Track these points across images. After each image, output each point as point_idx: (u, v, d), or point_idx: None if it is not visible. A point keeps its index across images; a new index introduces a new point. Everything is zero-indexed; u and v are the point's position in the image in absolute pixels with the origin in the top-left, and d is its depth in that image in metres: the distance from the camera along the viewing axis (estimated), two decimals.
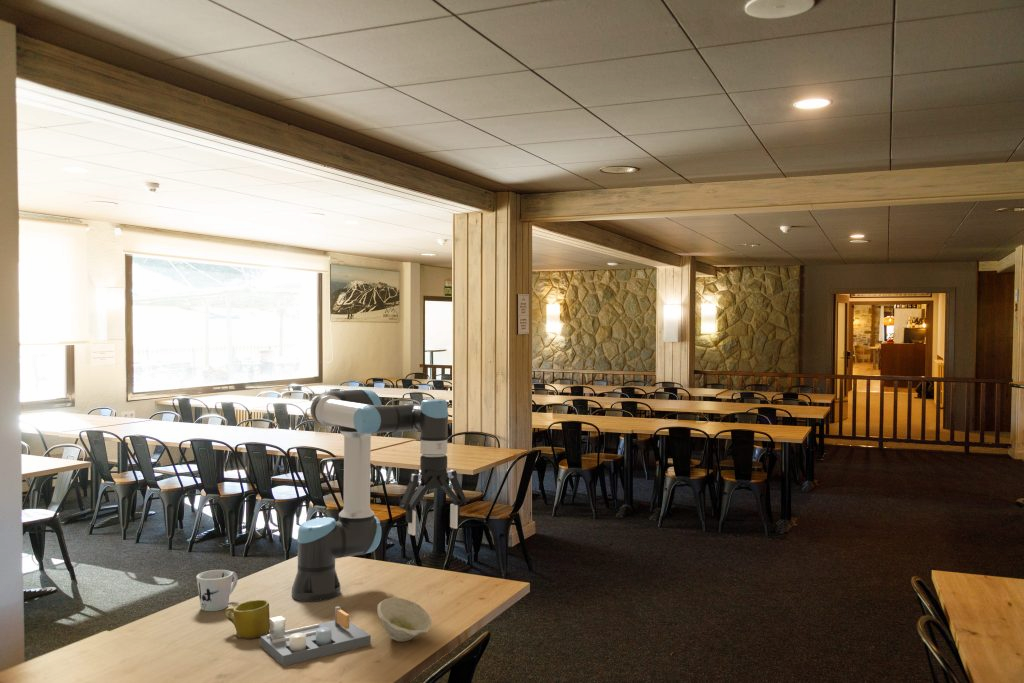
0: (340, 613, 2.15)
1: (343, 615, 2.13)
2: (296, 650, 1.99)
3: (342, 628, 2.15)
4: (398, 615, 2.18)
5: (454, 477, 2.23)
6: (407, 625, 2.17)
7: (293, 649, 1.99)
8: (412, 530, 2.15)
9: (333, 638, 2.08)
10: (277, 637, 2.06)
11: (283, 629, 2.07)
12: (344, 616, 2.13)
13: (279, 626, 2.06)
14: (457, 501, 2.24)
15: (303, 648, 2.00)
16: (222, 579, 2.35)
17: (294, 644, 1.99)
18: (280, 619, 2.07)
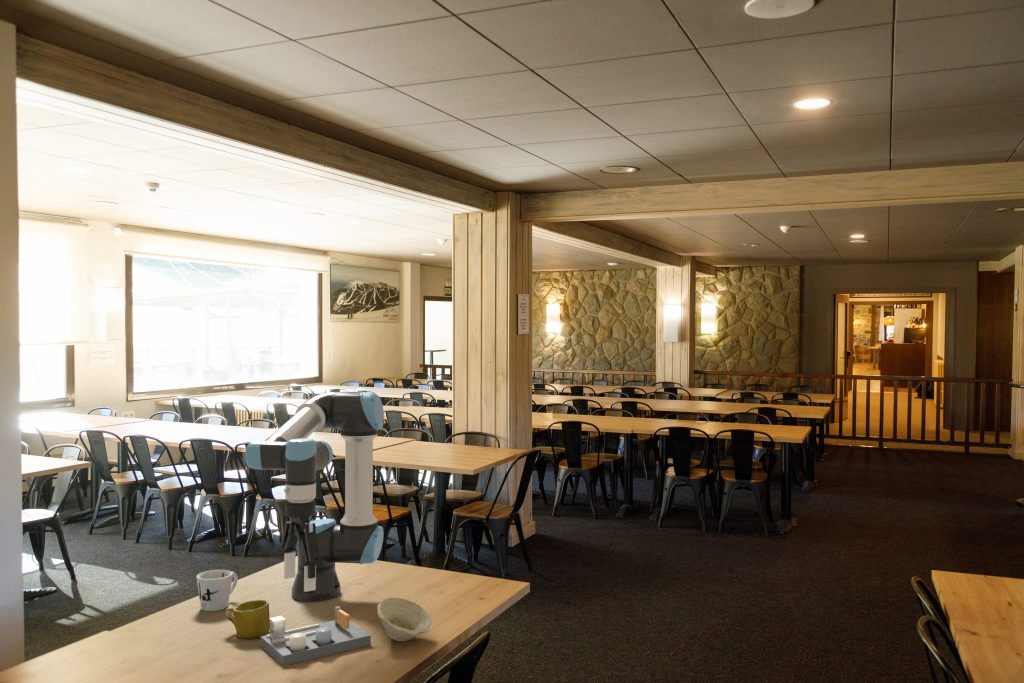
0: (340, 613, 2.15)
1: (343, 615, 2.13)
2: (296, 650, 1.99)
3: (342, 628, 2.15)
4: (398, 615, 2.18)
5: (305, 531, 1.96)
6: (407, 625, 2.17)
7: (293, 649, 1.99)
8: None
9: (333, 638, 2.08)
10: (277, 637, 2.06)
11: (283, 629, 2.07)
12: (344, 616, 2.13)
13: (279, 626, 2.06)
14: (306, 560, 1.95)
15: (303, 648, 2.00)
16: (222, 579, 2.35)
17: (294, 644, 1.99)
18: (280, 619, 2.07)
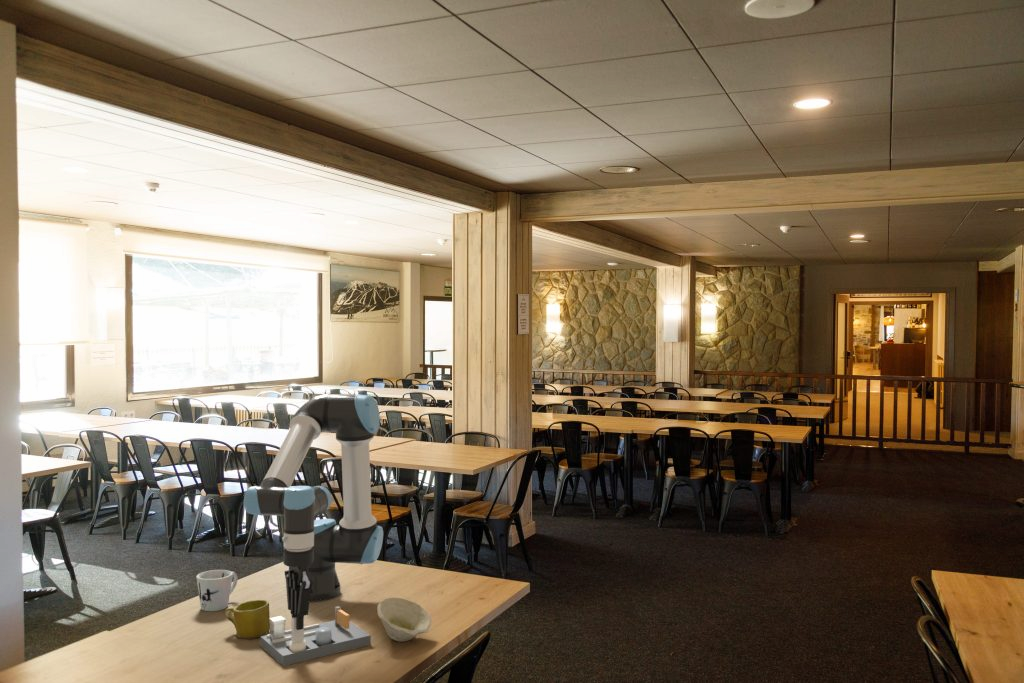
0: (340, 613, 2.15)
1: (343, 615, 2.13)
2: None
3: (342, 628, 2.15)
4: (398, 615, 2.18)
5: (300, 586, 1.97)
6: (407, 625, 2.17)
7: None
8: None
9: (333, 638, 2.08)
10: (277, 637, 2.06)
11: (283, 629, 2.07)
12: (344, 616, 2.13)
13: (279, 626, 2.06)
14: (295, 612, 2.00)
15: None
16: (222, 579, 2.35)
17: (294, 650, 1.99)
18: (280, 619, 2.07)
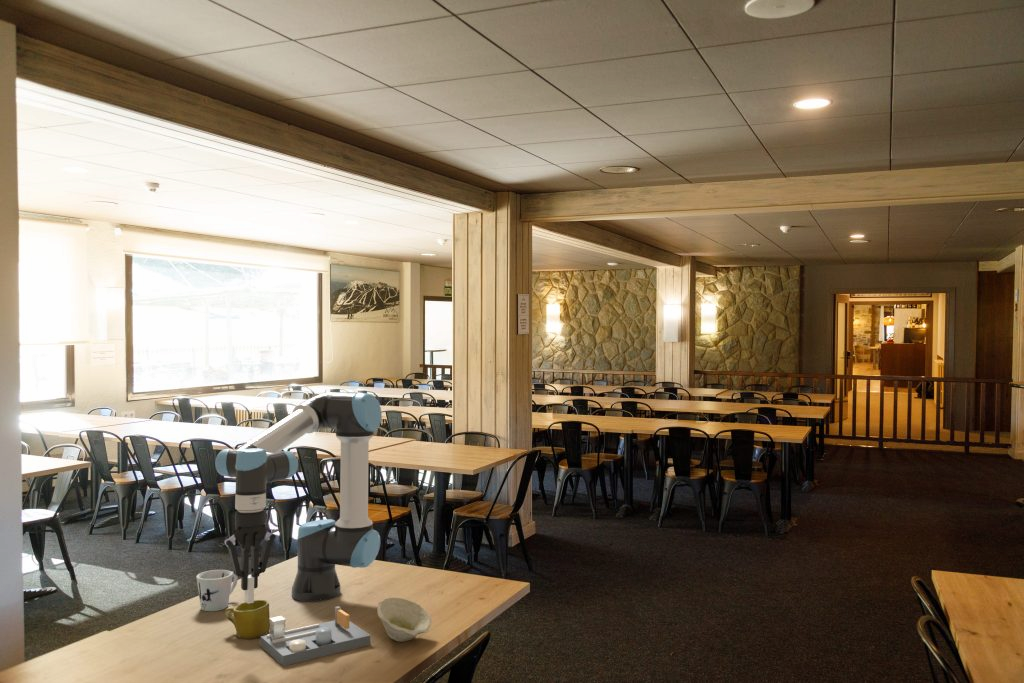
0: (340, 613, 2.15)
1: (343, 615, 2.13)
2: None
3: (342, 628, 2.15)
4: (398, 615, 2.18)
5: (270, 541, 2.05)
6: (407, 625, 2.17)
7: None
8: (247, 598, 2.02)
9: (333, 638, 2.08)
10: (277, 637, 2.06)
11: (283, 629, 2.07)
12: (344, 616, 2.13)
13: (279, 626, 2.06)
14: (255, 571, 2.02)
15: None
16: (222, 579, 2.35)
17: (294, 650, 1.99)
18: (280, 619, 2.07)
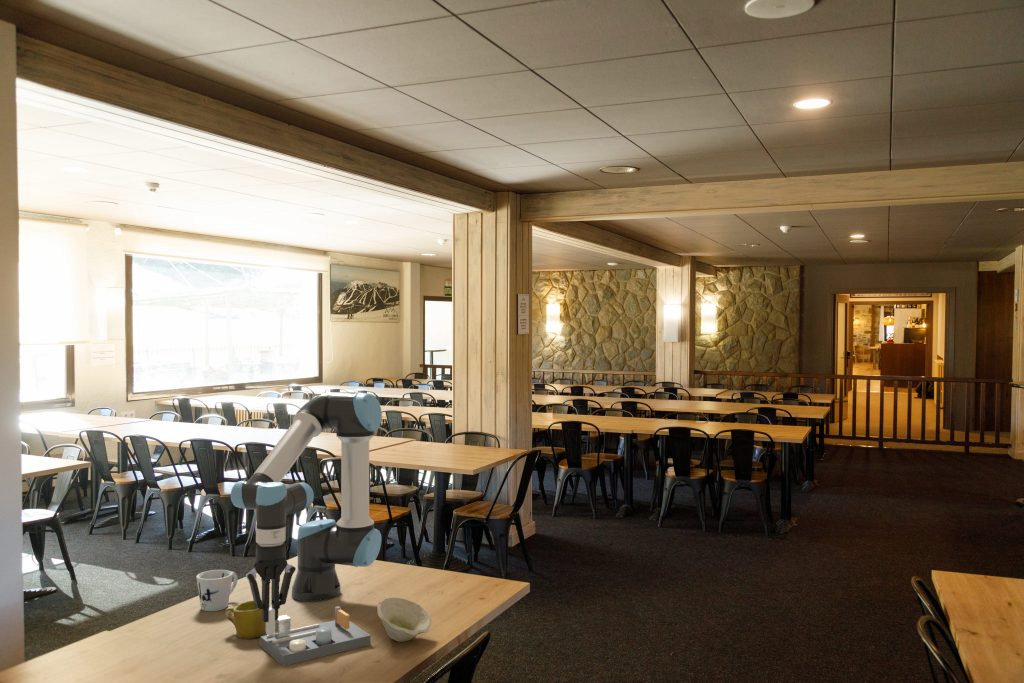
0: (340, 613, 2.15)
1: (343, 615, 2.13)
2: None
3: (342, 628, 2.15)
4: (398, 615, 2.18)
5: (290, 573, 2.08)
6: (407, 625, 2.17)
7: None
8: (268, 630, 2.05)
9: (333, 638, 2.08)
10: (282, 636, 2.07)
11: (288, 628, 2.08)
12: (344, 616, 2.13)
13: (284, 625, 2.07)
14: (276, 603, 2.06)
15: None
16: (222, 579, 2.35)
17: (294, 650, 1.99)
18: (285, 618, 2.08)
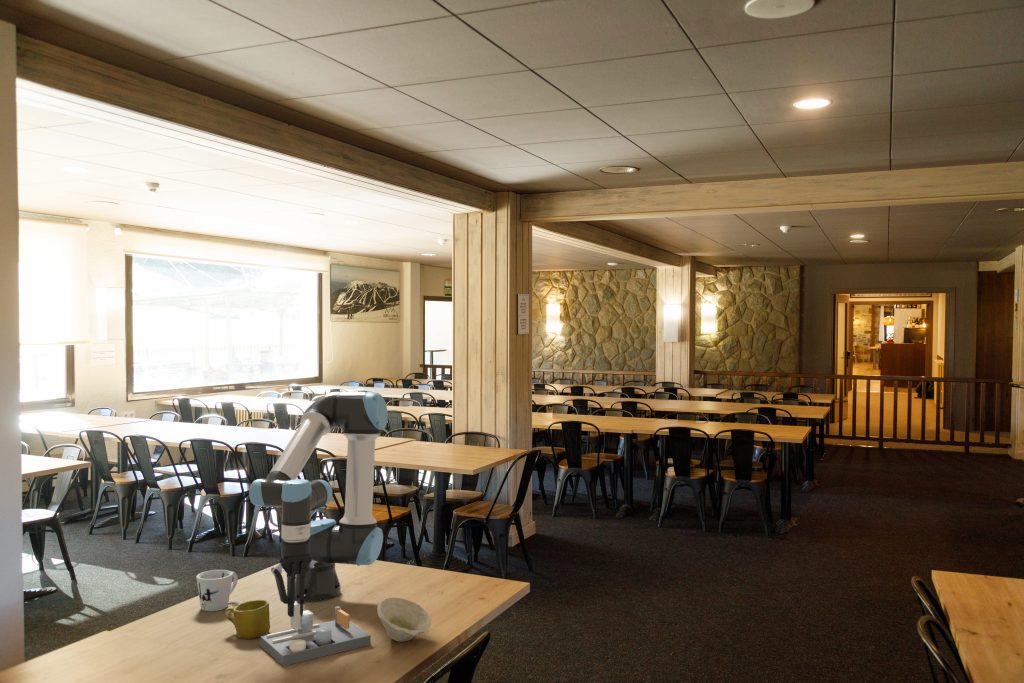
0: (340, 613, 2.15)
1: (343, 615, 2.13)
2: None
3: (342, 628, 2.15)
4: (398, 615, 2.18)
5: (314, 568, 2.12)
6: (407, 625, 2.17)
7: None
8: (294, 624, 2.09)
9: (333, 638, 2.08)
10: (305, 631, 2.10)
11: (311, 623, 2.11)
12: (344, 616, 2.13)
13: (307, 620, 2.11)
14: (301, 598, 2.10)
15: None
16: (222, 579, 2.35)
17: (294, 650, 1.99)
18: (308, 613, 2.11)
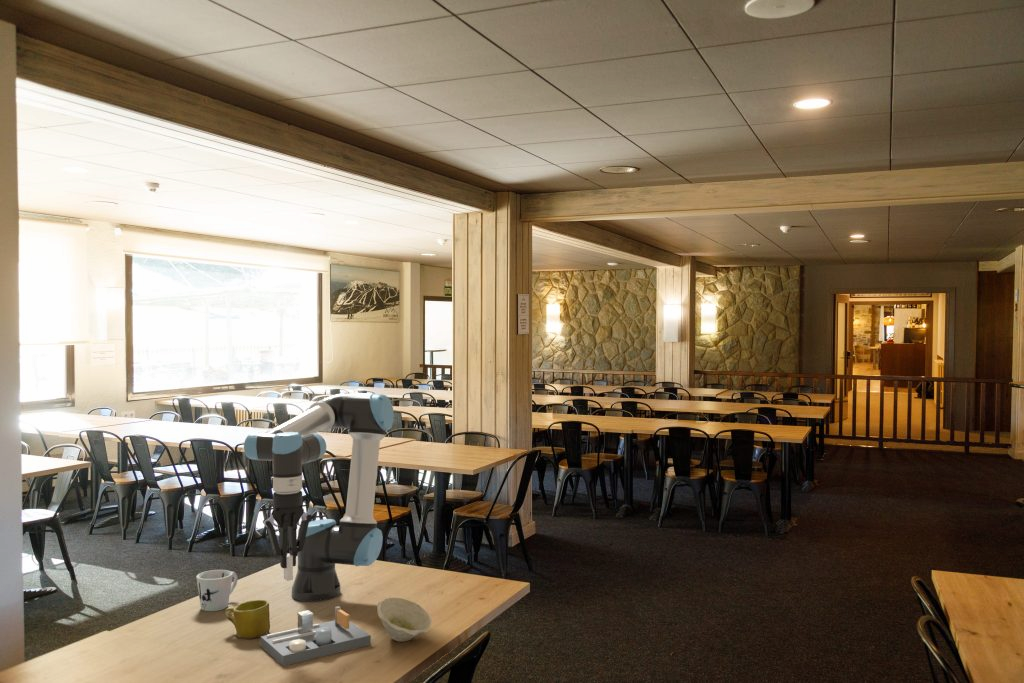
0: (340, 613, 2.15)
1: (343, 615, 2.13)
2: None
3: (342, 628, 2.15)
4: (398, 615, 2.18)
5: (306, 520, 2.12)
6: (407, 625, 2.17)
7: None
8: (287, 575, 2.10)
9: (333, 638, 2.08)
10: (305, 631, 2.10)
11: (311, 623, 2.11)
12: (344, 616, 2.13)
13: (307, 620, 2.11)
14: (294, 550, 2.10)
15: None
16: (222, 579, 2.35)
17: (294, 650, 1.99)
18: (308, 613, 2.11)
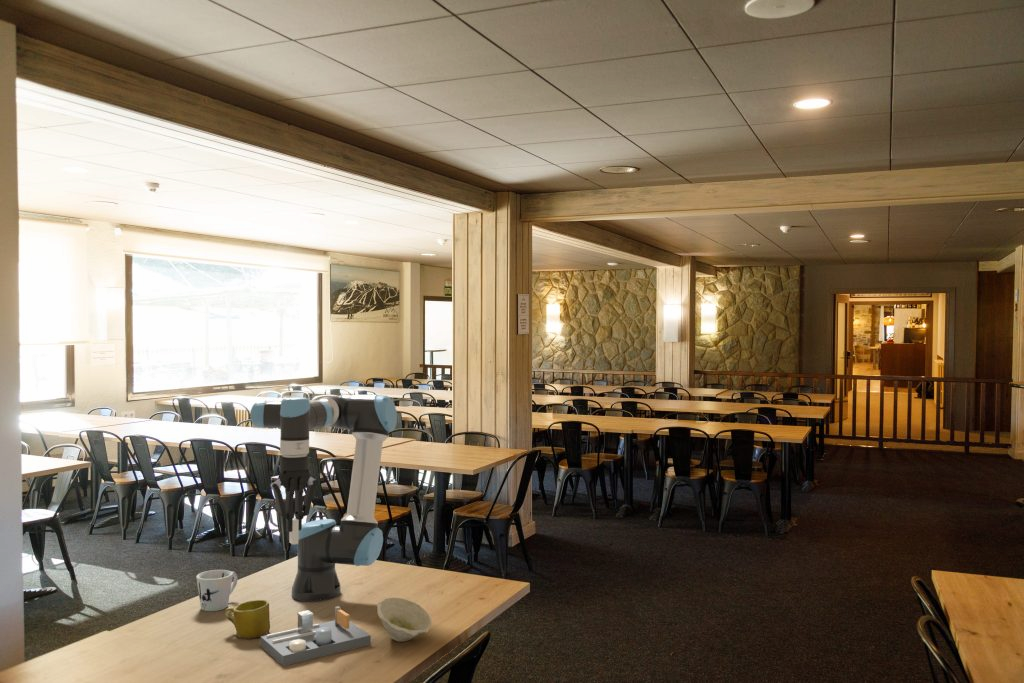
0: (340, 613, 2.15)
1: (343, 615, 2.13)
2: None
3: (342, 628, 2.15)
4: (398, 615, 2.18)
5: (313, 485, 2.14)
6: (407, 625, 2.17)
7: None
8: (292, 539, 2.11)
9: (333, 638, 2.08)
10: (305, 631, 2.10)
11: (311, 623, 2.11)
12: (344, 616, 2.13)
13: (307, 620, 2.11)
14: (299, 514, 2.12)
15: None
16: (222, 579, 2.35)
17: (294, 650, 1.99)
18: (308, 613, 2.11)
